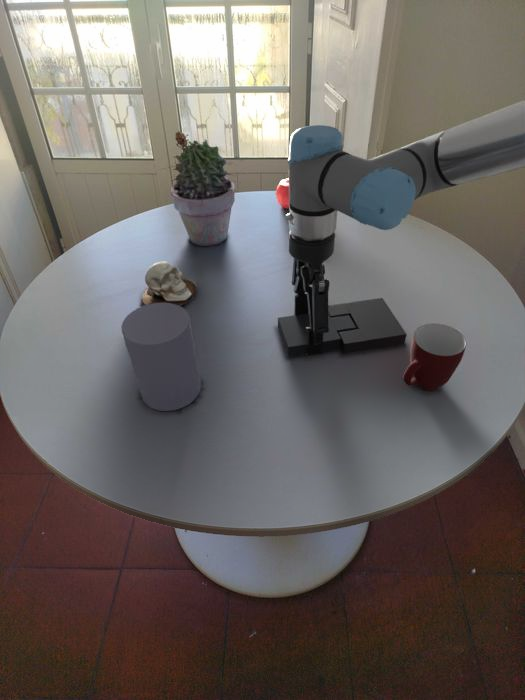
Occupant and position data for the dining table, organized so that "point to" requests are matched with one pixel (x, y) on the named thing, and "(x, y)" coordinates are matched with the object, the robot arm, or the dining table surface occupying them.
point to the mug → (434, 356)
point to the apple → (283, 193)
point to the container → (162, 355)
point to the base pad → (368, 325)
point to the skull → (167, 285)
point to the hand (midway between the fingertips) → (307, 336)
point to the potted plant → (202, 192)
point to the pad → (297, 334)
